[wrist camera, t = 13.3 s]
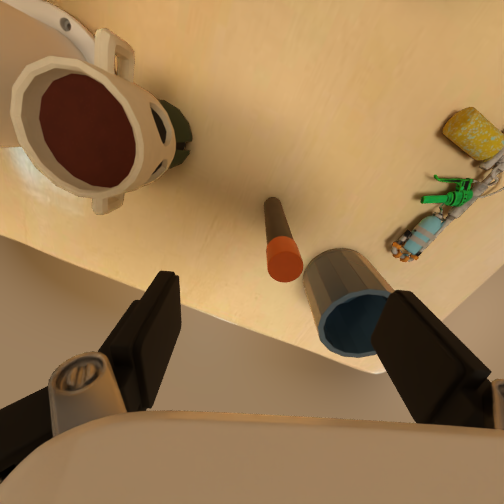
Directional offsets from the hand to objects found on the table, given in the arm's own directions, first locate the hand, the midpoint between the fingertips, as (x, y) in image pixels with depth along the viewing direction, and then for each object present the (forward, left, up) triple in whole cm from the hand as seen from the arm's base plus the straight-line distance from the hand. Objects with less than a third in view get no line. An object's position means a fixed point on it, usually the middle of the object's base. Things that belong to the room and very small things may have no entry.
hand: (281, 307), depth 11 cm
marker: (+1, 0, -19) cm, 19 cm away
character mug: (-12, +6, -19) cm, 23 cm away
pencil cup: (+10, -9, -19) cm, 23 cm away
